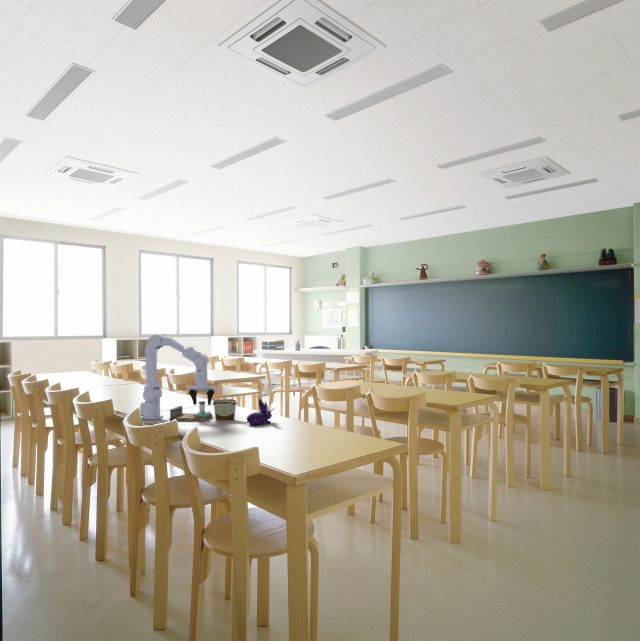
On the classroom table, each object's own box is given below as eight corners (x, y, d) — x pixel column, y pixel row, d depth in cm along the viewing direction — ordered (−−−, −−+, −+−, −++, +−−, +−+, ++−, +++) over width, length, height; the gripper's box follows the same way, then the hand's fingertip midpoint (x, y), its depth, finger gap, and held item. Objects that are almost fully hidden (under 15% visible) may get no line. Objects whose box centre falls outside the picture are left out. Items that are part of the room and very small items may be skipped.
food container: (240, 418, 250) (239, 398, 250) (236, 420, 244) (236, 400, 243) (216, 418, 251) (216, 398, 251) (212, 420, 245) (212, 400, 245)
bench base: (169, 421, 245) (169, 409, 245) (179, 416, 257) (179, 405, 257) (203, 421, 243) (203, 410, 243) (212, 416, 255) (212, 406, 255)
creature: (281, 422, 238) (281, 397, 238) (248, 428, 227) (248, 401, 227) (271, 419, 245) (271, 395, 245) (239, 425, 234) (239, 399, 234)
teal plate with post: (193, 416, 246) (193, 403, 246) (199, 413, 254) (199, 400, 253) (204, 417, 245) (204, 403, 245) (210, 413, 253) (210, 400, 253)
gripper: (217, 377, 252) (218, 403, 252) (191, 377, 254) (191, 403, 254) (213, 378, 245) (213, 405, 245) (185, 378, 247) (186, 405, 247)
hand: (202, 404), depth 249 cm, fingers open, 7 cm apart
